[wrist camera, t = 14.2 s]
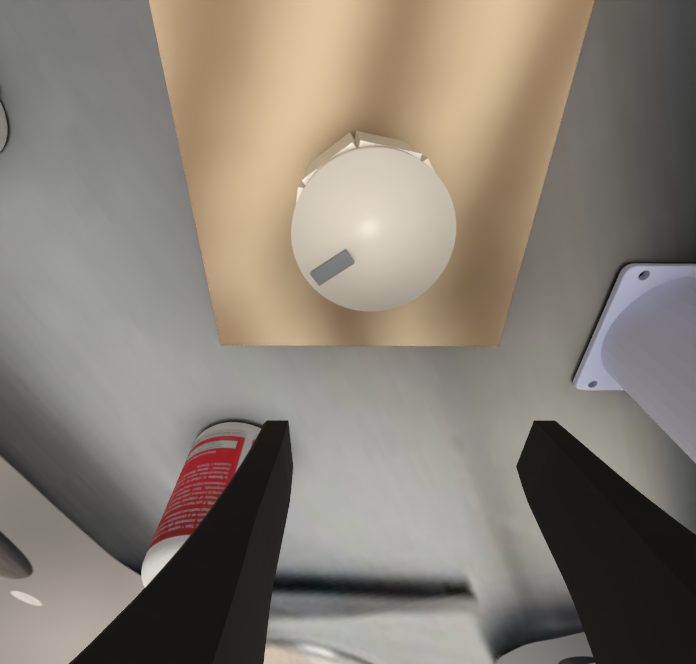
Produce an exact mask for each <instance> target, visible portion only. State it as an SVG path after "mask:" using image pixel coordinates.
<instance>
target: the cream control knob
mask: <svg viewBox="0 0 696 664" xmlns="http://www.w3.org/2000/svg"><path fill="white" fill-rule="evenodd" d="M455 238H456V215H455V210H454V206H453V202H452V199H451V197H450V194H449V192H448V190H447V188H446V187H445V185H444V183H443V182H442V180H441V179H440V178H439V177H438V176H437V174H436V173H435V171H434V169H433V167H432V165H431V163H430V161H429V159H428V158H427V157H425V156H424V155H422V153H420V152H419V151H417V150H416V149H414V148H413V147H411V146H410V145H408V144H407V143H405V142H404V141H402V140H397V139H393V138H388V137H383V136H379V135H374V134H370V133H365V132H361V131H356V133H355V139H354V137H353V136H352V134H351V132H349V133H348V134H347V135H345V136H344V137H343V138H341V139H340V140H339V141H337V142H336V143H335V144H334V145H332V146H331V147H330V148H328V149H327V150H326V151H324V152H323V153H322V154H321V155H319V156H318V157H317V158H315V159H314V160H313V161H311V163H310V165H309V167H308V169H307V171H306V172H305V174H304V176H303V178H302V180H301V182H300V184H299V186H298V190H297V199H296V207H295V210H294V213H293V218H292V224H291V241H292V242H291V245H292V248H293V252H294V256H295V259H296V262H297V265H298V267H299V269H300V270H301V272H302V274H303V276H304V277H305V278H306V280H307V281H308V283H309V284H310V285H311V286H312V287H313V288H314V289H315V290H316V291H317V292H318V293H320V294H321V295H322V296H323V297H325V298H326V299H328V300H329V301H331V302H333V303H335V304H337V305H340V306H342V307H345V308H348V309H353V310H358V311H383V310H388V309H392V308H396V307H399V306H401V305H404V304H406V303H408V302H410V301H412V300H414V299H415V298H417V297H419V296H420V295H422V294H423V293H424V292H425V291H426V290H428V289H429V288H430V287H431V286H432V285H433V284H434V283H435V282H436V280H437V279H438V278H439V276H440V275H441V274H442V272H443V271H444V269H445V267H446V266H447V264H448V261H449V259H450V257H451V254H452V251H453V248H454V244H455Z"/></svg>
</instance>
